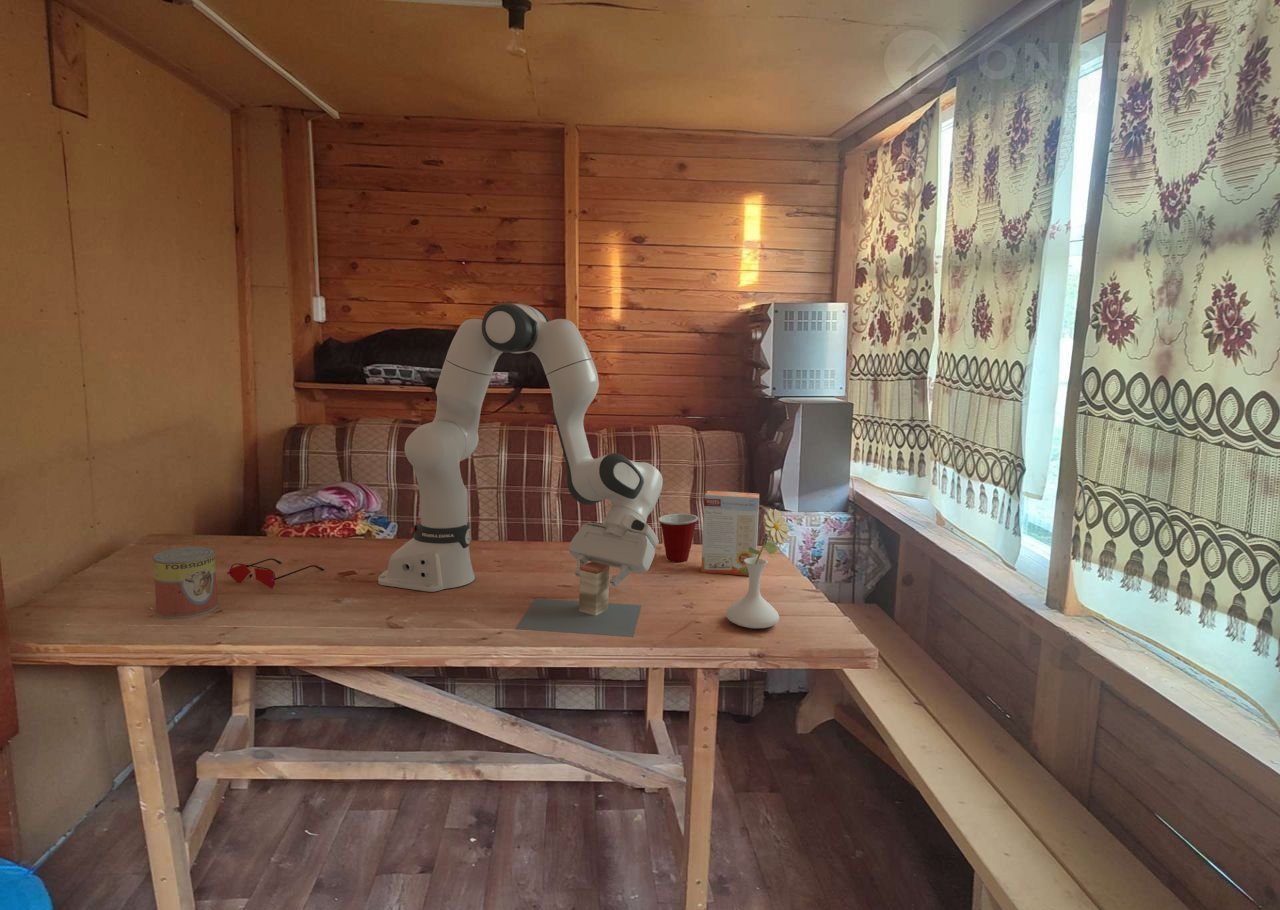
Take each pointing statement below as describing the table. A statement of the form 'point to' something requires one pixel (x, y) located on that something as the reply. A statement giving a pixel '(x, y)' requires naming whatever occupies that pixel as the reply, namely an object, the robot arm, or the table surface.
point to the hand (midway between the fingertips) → (595, 580)
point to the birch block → (594, 588)
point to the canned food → (185, 582)
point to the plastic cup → (678, 535)
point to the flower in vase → (753, 606)
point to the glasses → (259, 573)
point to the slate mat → (580, 618)
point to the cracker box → (729, 531)
